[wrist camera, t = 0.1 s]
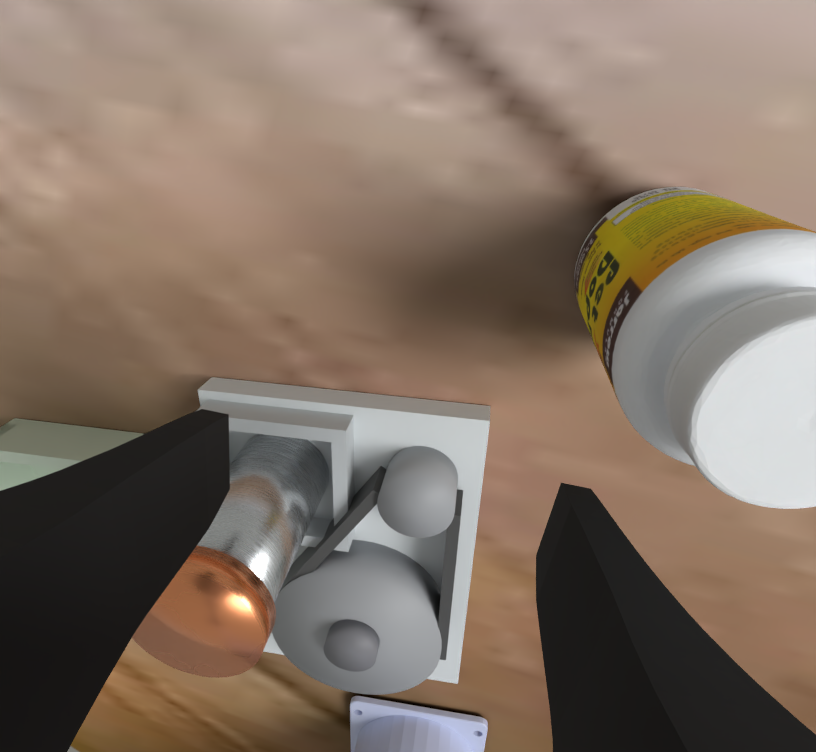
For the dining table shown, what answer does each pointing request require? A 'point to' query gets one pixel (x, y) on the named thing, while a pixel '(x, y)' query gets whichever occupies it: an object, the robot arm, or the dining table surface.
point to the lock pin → (239, 562)
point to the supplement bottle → (710, 337)
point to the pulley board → (373, 530)
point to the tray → (50, 448)
